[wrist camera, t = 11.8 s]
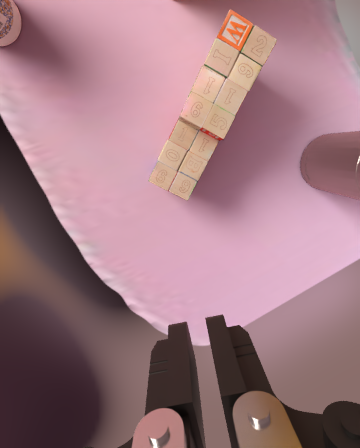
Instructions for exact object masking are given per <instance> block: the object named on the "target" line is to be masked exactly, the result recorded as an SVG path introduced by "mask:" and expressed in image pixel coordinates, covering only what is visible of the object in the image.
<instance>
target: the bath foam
mask: <svg viewBox="0 0 360 448" xmlns="http://www.w3.org/2000/svg"><path fill="white" fill-rule="evenodd" d="M20 31H21V16H20V13H19V10H18V8H17V6H16V4H15V3H14V2H13V0H0V46H6V45H9V44H11V43H13V42H14V41H15V40H16V39H17V37H18V36H19V34H20Z"/></svg>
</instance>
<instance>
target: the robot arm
mask: <svg viewBox="0 0 360 448" xmlns="http://www.w3.org/2000/svg"><path fill="white" fill-rule="evenodd" d="M300 168H301V173H302V176H303V178H304V180H305V181H306V182H307V183H308V184H309V185H310V186H312V187H314V188H317V189H320V190H324V191H328V192H331V193H335V194H339V195H343V196H346V197H350V198H354V199H358V200H360V131H355V132H343V133H333V134H326V135H322V136H320V137H318V138H316V139H315V140H313V141H312V142H311V143H310V144H309V145H308V146H307V148H306V149H305V151H304V153H303V155H302V158H301V167H300ZM205 319H206V324H207V329H208V334H209V339H210V344H211V349H212V354H213V359H214V364H215V369H216V374H217V378H218V384H219V389H220V394H221V399H222V404H223V408H224V414H225V418H226V423H227V428H228V433H229V437H230V442H231V447H232V448H360V404H357V403H353V402H348V401H338V402H334V403H332V404H330V405H328V406H327V407H326V408H325V410H324V412H323V414H315V413H307V412H302V411H298V410H294V409H292V408H290V407H288V406H287V405H285V404H283V403H282V402H281V401H280V400H279V399H278V398H277V397H276V396H275V394H274V393H273V391H272V389H271V386H270V384H269V382H268V379H267V377H266V374H265V372H264V370H263V367H262V365H261V362H260V360H259V358H258V355H257V353H256V351H255V348H254V346H253V343H252V341H251V339H250V336H249V334H248V332H246V331H245V330H244V329H243V328H242V327H241V326H240V325H237V326H232V327H227V326H226V323H225V319H224V316H223V315H218V316H213V317H207V318H205ZM84 448H92V447H84ZM118 448H206V446H205V437H204V428H203V420H202V410H201V401H200V392H199V384H198V376H197V367H196V361H195V355H194V351H193V347H192V342H191V338H190V333H189V329H188V325H187V322H182V323H177V324H172V325H169V326H168V339H166V340H161V341H157V343H156V345H155V346H154V348H153V350H152V352H151V361H150V370H149V380H148V389H147V399H146V410H145V416H144V418H143V419H142V420H141V421H140V422H139V424H138V425H137V427H136V430H135V432H134V436H133V437H132V438H131V440H129V441H128V442H127V443H125V444H124V445H122V446H120V447H118Z"/></svg>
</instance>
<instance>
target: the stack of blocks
mask: <svg viewBox="0 0 360 448" xmlns="http://www.w3.org/2000/svg"><path fill="white" fill-rule="evenodd" d="M276 41H277V40H276V39H275V38H274V37H272V36H271V35H269V34H268V33H266V32H265V31H263V30H262V29H261V28H259V27H258V26H256V25H255V26H253V24H252V23H251V22H250V21H248V20H247V19H245V18H244V17H242V16H240V15H239V14H237V13H236V12H234V11H233V10H229V12H228V14H227V16H226V18H225V21H224V23H223V25H222V27H221V29H220V31H219V33H218V35H217V38H216V39H215V41H214V43H213V45H212V47H211V50H210V52H209V54H208V56H207V59H206V61H205V63H204V65H203V66H202V67H201V69H200V72H199V74H198V76H197V78H196V80H195V83H194V85H193V87H192V90H191V92H190V94H189V96H188V99H187V101H186V103H185V105H184V107H183V109H182V112H181V114H180V116H179V119H178V121H177V123H176V125H175V127H174V129H173V131H172V133H171V135H170V137H169V139H168V140H167V141H166V143H165V145H164V147H163V149H162V152H161V154H160V156H159V158H158V162H157V164H156V166H155V168H154V170H153V172H152V174H151V176H150V178H149V182H151V183H153V184H155V185H157V186H159V187H161V188H163V189H165V190H167V191H169V192H171V193H173V194H175V195H177V196H179V197H181V198H183V199H185V200H188V199H189V197H190V195H191V193H192V191H193V189H194V187H195V185H196V183H197V181H198V180H199V178H200V177H201V175H202V173H203V171H204V169H205V167H206V165H207V163H208V161H209V160H210V158H211V156H212V154H213V152H214V150H215V148H216V146H217V144H218V141H220V140H223V139H224V138H225V136H226V134H227V132H228V130H229V128H230V126H231V124H232V122H233V120H234V119H235V115H236V113H237V111H238V110H239V108H240V106H241V104H242V102H243V100H244V98H245V96H246V94H247V93H248V92H249V91H250V89H251V87H252V85H253V83H254V81H255V79H256V78H257V76H258V74H259V72H260V70H261V68H262V66H263V65H264V63H265V62H266V60H267V58H268V56H269V54H270V52H271V51H272V49H273V47H274V45H275V43H276Z"/></svg>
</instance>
